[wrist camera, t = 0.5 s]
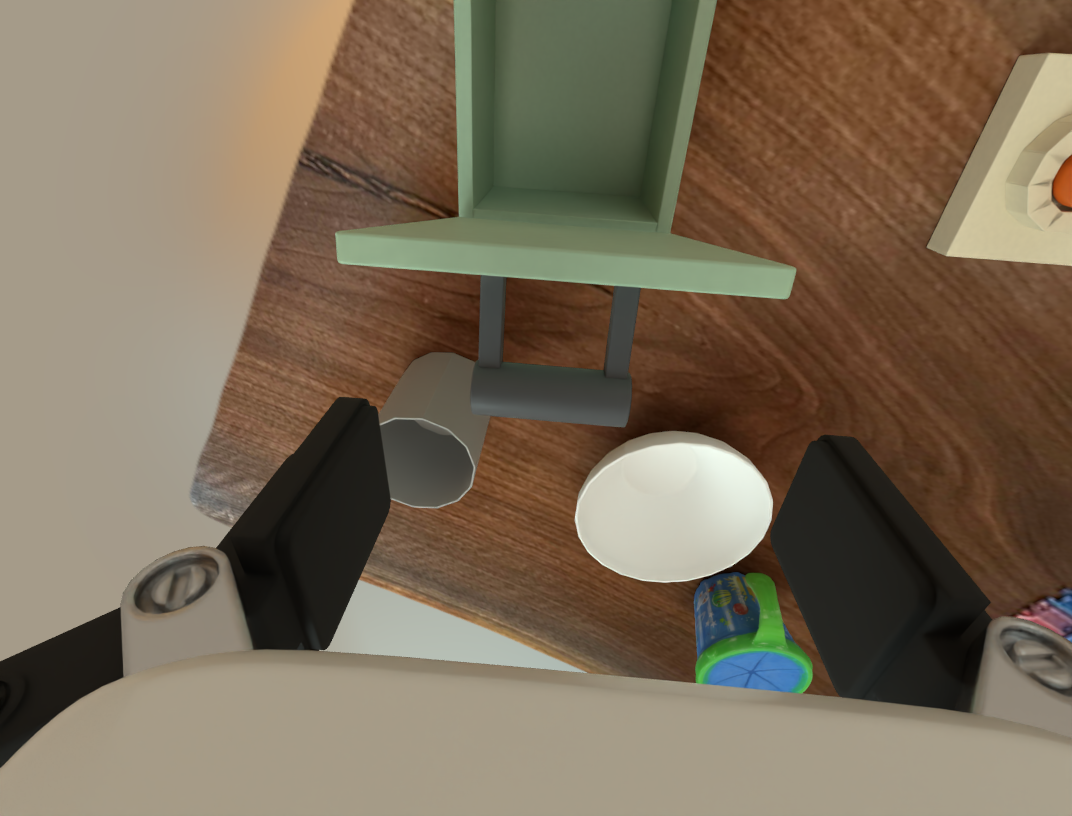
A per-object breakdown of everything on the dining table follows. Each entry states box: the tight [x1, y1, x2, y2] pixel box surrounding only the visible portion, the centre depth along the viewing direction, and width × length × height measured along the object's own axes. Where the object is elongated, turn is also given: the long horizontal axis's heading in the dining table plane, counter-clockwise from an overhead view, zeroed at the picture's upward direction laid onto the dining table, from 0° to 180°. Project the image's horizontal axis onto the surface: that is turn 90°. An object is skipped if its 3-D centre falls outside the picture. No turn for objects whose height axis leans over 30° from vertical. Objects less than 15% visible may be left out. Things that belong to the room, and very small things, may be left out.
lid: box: [335, 217, 796, 427], centre depth 20 cm, size 15×12×6 cm
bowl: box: [575, 431, 773, 583], centre depth 43 cm, size 16×16×7 cm
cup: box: [378, 352, 490, 508], centre depth 39 cm, size 8×8×10 cm
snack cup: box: [694, 572, 813, 694], centre depth 51 cm, size 16×10×10 cm
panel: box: [927, 53, 1072, 266], centre depth 30 cm, size 11×9×4 cm
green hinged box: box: [454, 0, 717, 233], centre depth 27 cm, size 15×12×9 cm
